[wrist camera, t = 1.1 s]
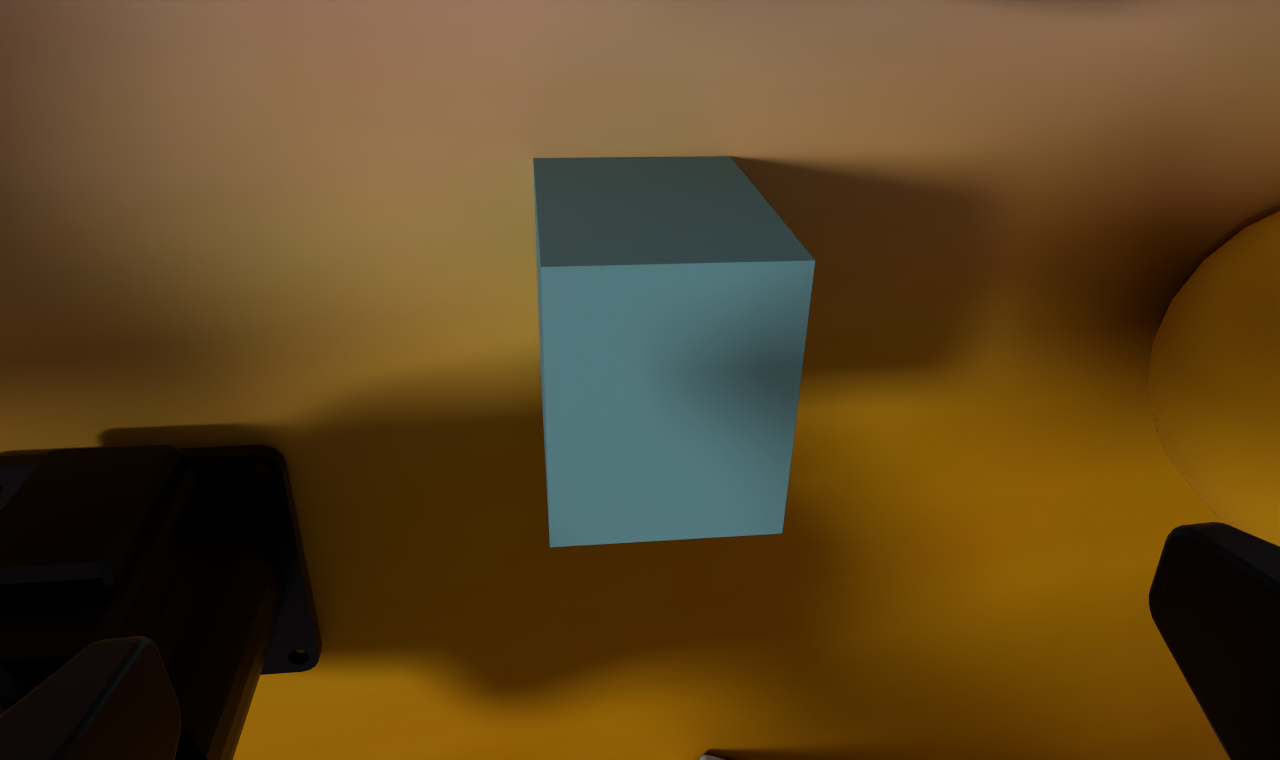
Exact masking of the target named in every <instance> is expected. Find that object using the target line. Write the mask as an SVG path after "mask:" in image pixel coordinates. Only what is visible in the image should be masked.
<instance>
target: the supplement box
mask: <svg viewBox="0 0 1280 760" xmlns="http://www.w3.org/2000/svg"><path fill="white" fill-rule="evenodd" d="M699 760H724V759H720V758H717V757H714V756H710V755H703V756H701V758H700V759H699Z"/></svg>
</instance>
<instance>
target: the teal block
mask: <svg viewBox="0 0 1280 760" xmlns="http://www.w3.org/2000/svg"><path fill="white" fill-rule="evenodd" d="M533 165H534V194H535V223H536V253H537V282H538V311H539V340H540V369H541V392H542V410H543V429H544V447H545V466H546V484H547V503H548V521H549V540H550V547H564V546H581V545H597V544H614V543H631V542H648V541H664V540H681V539H698V538H714V537H731V536H748V535H764V534H781V533H782V532H783V523H784V515H785V507H786V499H787V490H788V482H789V474H790V465H791V457H792V449H793V441H794V432H795V424H796V416H797V408H798V399H799V391H800V383H801V375H802V366H803V358H804V350H805V341H806V333H807V325H808V317H809V308H810V300H811V292H812V284H813V275H814V267H815V260H814V258H813V257H812V256H811V255H810V253H809V252H808V251H807V250H806V249H805V247H804V246H803V245H802V244H801V242H800V241H799V240H798V239H797V238H796V236H795V235H794V234H793V233H792V231H791V230H790V229H789V228H788V227H787V225H786V224H785V223H784V222H783V220H782V219H781V218H780V217H779V215H778V214H777V213H776V212H775V211H774V209H773V208H772V207H771V206H770V204H769V203H768V202H767V201H766V200H765V198H764V197H763V196H762V195H761V193H760V192H759V191H758V190H757V189H756V187H755V186H754V185H753V184H752V182H751V181H750V180H749V179H748V178H747V176H746V175H745V174H744V173H743V171H742V170H741V169H740V168H739V166H738V165H737V164H736V163H735V162H734V160H733V159H732V158H731V157H730V156H718V157H610V158H533Z"/></svg>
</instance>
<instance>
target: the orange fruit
mask: <svg viewBox="0 0 1280 760" xmlns="http://www.w3.org/2000/svg"><path fill="white" fill-rule="evenodd" d="M1147 385H1148V397H1149V401H1150V405H1151V409H1152V413H1153V417H1154V422H1155V426H1156V430H1157V433H1158V435H1159V438H1160V440H1161V443H1162V445H1163V448H1164V450H1165V452H1166V454H1167V455H1168V456H1169V458H1170V459H1171V461H1172V462H1173V464H1174V465H1175V466H1176V468H1177V469H1178V471H1179V472H1180V473H1181V474H1182V476H1183V477H1184V478H1185V479H1186V481H1187V482H1188V483H1189V484H1190V486H1191V487H1192V488H1193V489H1194V491H1195V492H1196V493H1197V494H1198V496H1199V497H1200V498H1201V499H1202V500H1203V501H1204V502H1205V503H1206V504H1207V505H1208V506H1209V507H1210V508H1211V509H1212V510H1213V511H1214V512H1215V513H1216V514H1217V515H1218V516H1219V517H1221V518H1222V519H1223V520H1225V521H1226V522H1228V523H1229V524H1230V525H1232V526H1233V527H1235V528H1237V529H1239V530H1242V531H1244V532H1246V533H1249V534H1251V535H1254V536H1256V537H1258V538H1261V539H1263V540H1265V541H1268V542H1270V543H1273V544H1275V545H1277V546H1280V211H1279V212H1276V213H1274V214H1272V215H1270V216H1268V217H1266V218H1264V219H1262V220H1260V221H1258V222H1256V223H1254V224H1251V225H1249V226H1247V227H1245V228H1244V229H1243V230H1241V231H1240V232H1239V233H1238V234H1236V235H1235V236H1234V237H1232V238H1231V239H1230V240H1229V241H1227V242H1226V243H1225V244H1224V245H1222V246H1221V247H1220V248H1219V249H1217V250H1216V251H1215V252H1214V253H1212V254H1211V255H1210V256H1209V257H1207V258H1206V259H1205V260H1204V261H1203V262H1202V263H1201V264H1200V266H1199V267H1198V268H1197V269H1196V271H1195V272H1194V273H1193V274H1192V276H1191V277H1190V278H1189V279H1188V281H1187V282H1186V283H1185V284H1184V286H1183V287H1182V288H1181V289H1180V291H1179V292H1178V293H1177V294H1176V296H1175V297H1174V298H1173V299H1172V301H1171V303H1170V305H1169V307H1168V310H1167V312H1166V314H1165V316H1164V318H1163V320H1162V323H1161V325H1160V327H1159V329H1158V331H1157V333H1156V336H1155V338H1154V340H1153V344H1152V351H1151V358H1150V365H1149V371H1148V378H1147Z"/></svg>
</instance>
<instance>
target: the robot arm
mask: <svg viewBox="0 0 1280 760" xmlns="http://www.w3.org/2000/svg"><path fill="white" fill-rule="evenodd" d="M255 464H259V465H264V466H265V467H267V468H268V469H269V471H270V472H269V473H259V472H257V471H256V470H254V469H253V467H252V465H255ZM0 483H1V484H2V486H0V760H233V757H234V754H235V751H236V747H237V744H238V741H239V738H240V735H241V732H242V729H243V726H244V723H245V720H246V717H247V714H248V711H249V707H250V704H251V701H252V698H253V695H254V692H255V689H256V686H257V683H258V680H259V677H260V675H263V674H277V673H290V672H302V671H307V670H310V669H312V668H313V667H315V666H316V664H317V663H318V661H319V657H320V654H321V650H322V642H321V637H320V632H319V626H318V621H317V616H316V611H315V606H314V601H313V596H312V591H311V586H310V581H309V576H308V570H307V565H306V560H305V555H304V550H303V545H302V540H301V535H300V530H299V525H298V519H297V514H296V509H295V504H294V499H293V494H292V489H291V484H290V479H289V474H288V469H287V463H286V461H285V459H284V456H283V455H282V454H281V453H280V452H279V451H278V450H276V449H274V448H272V447H270V446H264V445H248V446H225V447H203V448H181V449H179V448H176V447H173V446H170V445H155V446H132V447H110V448H87V449H65V450H52V451H50V452H48V453H47V455H24V456H2V457H0ZM1149 606H1150V611H1151V615H1152V618H1153V620H1154V622H1155V624H1156V626H1157V628H1158V630H1159V632H1160V633H1161V635H1162V637H1163V639H1164V641H1165V643H1166V644H1167V646H1168V648H1169V650H1170V652H1171V653H1172V655H1173V657H1174V659H1175V661H1176V662H1177V664H1178V666H1179V668H1180V670H1181V672H1182V673H1183V675H1184V677H1185V679H1186V681H1187V682H1188V684H1189V686H1190V688H1191V690H1192V692H1193V693H1194V695H1195V697H1196V699H1197V701H1198V702H1199V704H1200V706H1201V708H1202V710H1203V712H1204V713H1205V715H1206V717H1207V719H1208V721H1209V722H1210V724H1211V726H1212V728H1213V730H1214V732H1215V733H1216V735H1217V737H1218V739H1219V741H1220V742H1221V744H1222V746H1223V748H1224V749H1225V751H1226V753H1227V755H1228V756H1229V758H1230V760H1280V546H1277V545H1275V544H1273V543H1270V542H1268V541H1265V540H1263V539H1261V538H1258V537H1256V536H1254V535H1251V534H1249V533H1246V532H1244V531H1242V530H1239V529H1237V528H1235V527H1232V526H1230V525H1227V524H1224V523H1219V522H1209V523H1200V524H1190V525H1182V526H1179V527H1176V528H1174V529H1173V530H1172V532H1171V533H1170V534H1169V535H1168V536H1167V539H1166V541H1165V544H1164V547H1163V551H1162V554H1161V557H1160V560H1159V563H1158V566H1157V570H1156V573H1155V576H1154V579H1153V582H1152V585H1151V588H1150V593H1149ZM296 649H297V650H303V651H305V653H299V652H296V651H294V650H296Z"/></svg>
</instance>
